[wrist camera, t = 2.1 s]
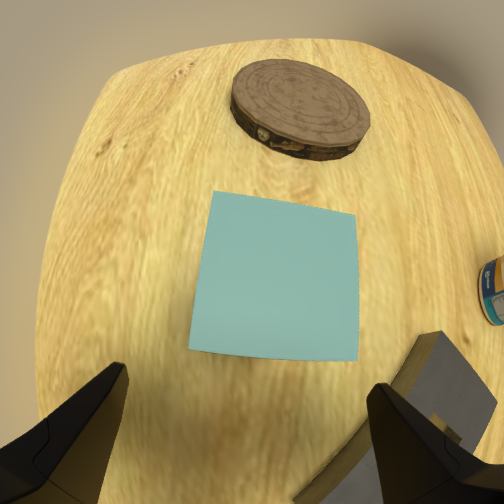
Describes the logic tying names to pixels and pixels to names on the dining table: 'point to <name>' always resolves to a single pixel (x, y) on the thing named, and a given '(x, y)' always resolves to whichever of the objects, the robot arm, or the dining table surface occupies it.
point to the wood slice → (299, 109)
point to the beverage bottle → (493, 290)
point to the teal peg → (277, 282)
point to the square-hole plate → (426, 402)
